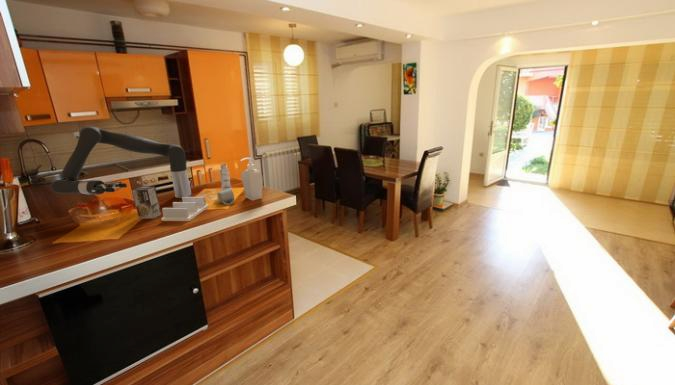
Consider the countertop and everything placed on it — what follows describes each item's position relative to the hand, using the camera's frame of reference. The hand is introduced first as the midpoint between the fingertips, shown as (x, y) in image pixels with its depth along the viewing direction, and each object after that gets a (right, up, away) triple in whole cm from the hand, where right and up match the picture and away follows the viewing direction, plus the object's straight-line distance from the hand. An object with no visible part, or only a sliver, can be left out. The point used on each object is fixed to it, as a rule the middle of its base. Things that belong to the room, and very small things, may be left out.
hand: (120, 187), depth 163 cm
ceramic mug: (+49, -9, +24) cm, 55 cm away
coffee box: (+14, -16, +4) cm, 21 cm away
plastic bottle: (+43, -4, +40) cm, 58 cm away
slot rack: (+32, -14, +7) cm, 35 cm away
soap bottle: (+62, -6, +31) cm, 69 cm away
